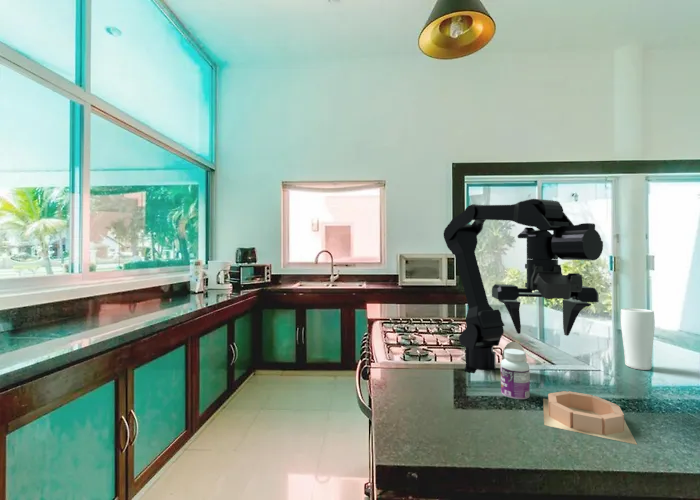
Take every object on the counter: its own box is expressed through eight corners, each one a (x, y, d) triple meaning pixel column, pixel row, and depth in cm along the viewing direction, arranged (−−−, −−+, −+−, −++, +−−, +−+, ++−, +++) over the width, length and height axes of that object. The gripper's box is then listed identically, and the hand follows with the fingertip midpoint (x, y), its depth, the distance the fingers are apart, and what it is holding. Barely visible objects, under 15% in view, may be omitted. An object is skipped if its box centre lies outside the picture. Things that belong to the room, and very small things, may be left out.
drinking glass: (662, 372, 84) (661, 312, 84) (631, 370, 85) (630, 311, 85) (644, 364, 90) (643, 308, 91) (615, 362, 92) (614, 307, 92)
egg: (503, 376, 81) (502, 343, 82) (501, 369, 87) (501, 338, 87) (528, 379, 80) (528, 345, 80) (525, 371, 85) (524, 340, 85)
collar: (549, 424, 56) (549, 408, 56) (547, 400, 65) (547, 387, 65) (629, 440, 51) (628, 423, 51) (615, 412, 60) (615, 398, 60)
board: (544, 431, 56) (544, 424, 56) (543, 403, 66) (543, 398, 66) (637, 451, 50) (637, 444, 50) (620, 417, 60) (620, 412, 60)
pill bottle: (495, 393, 71) (495, 347, 71) (519, 392, 72) (519, 347, 72) (510, 404, 66) (509, 355, 66) (535, 403, 66) (535, 354, 66)
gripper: (505, 259, 64) (505, 342, 64) (615, 260, 61) (616, 347, 60) (491, 259, 75) (491, 329, 75) (583, 259, 72) (584, 332, 71)
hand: (542, 334), depth 70 cm, fingers open, 9 cm apart
